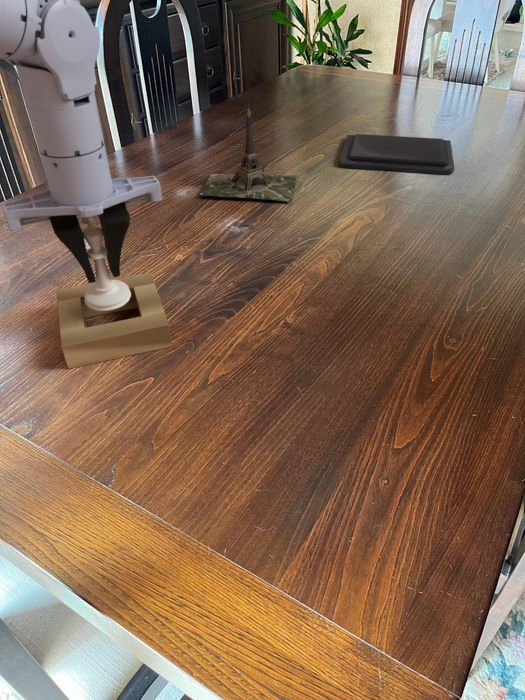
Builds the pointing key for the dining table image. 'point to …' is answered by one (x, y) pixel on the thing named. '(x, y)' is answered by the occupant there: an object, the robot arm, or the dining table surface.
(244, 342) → the dining table surface
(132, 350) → the socket
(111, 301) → the chess piece
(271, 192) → the eiffel tower figurine
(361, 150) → the black flat block
